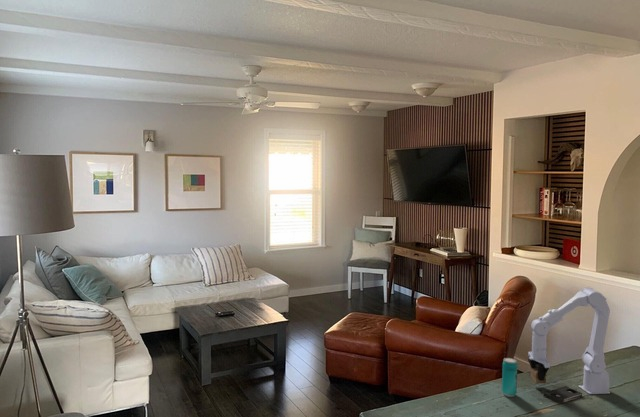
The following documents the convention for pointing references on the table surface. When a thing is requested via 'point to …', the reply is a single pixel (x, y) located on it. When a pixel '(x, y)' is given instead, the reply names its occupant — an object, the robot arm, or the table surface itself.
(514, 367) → the beverage can
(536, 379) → the walnut block
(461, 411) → the table surface
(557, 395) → the vhs tape
